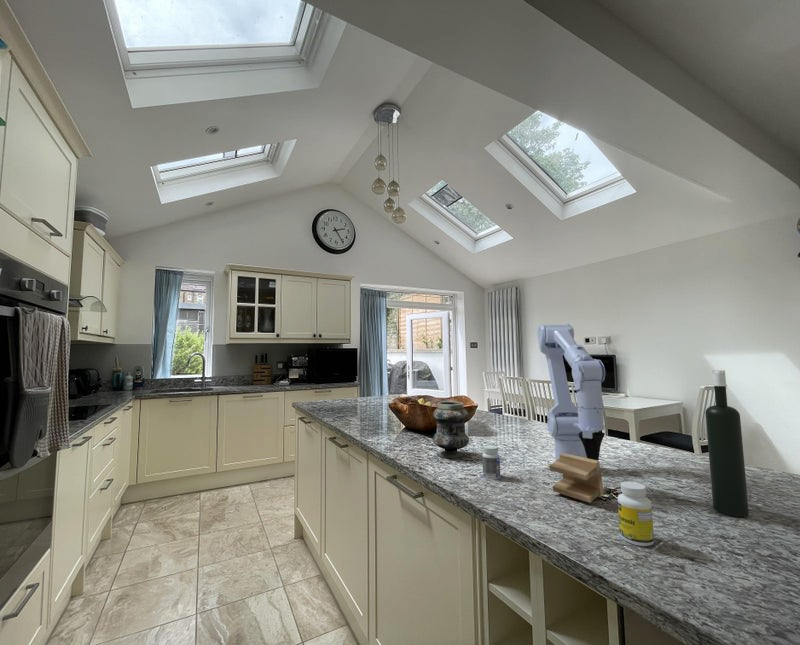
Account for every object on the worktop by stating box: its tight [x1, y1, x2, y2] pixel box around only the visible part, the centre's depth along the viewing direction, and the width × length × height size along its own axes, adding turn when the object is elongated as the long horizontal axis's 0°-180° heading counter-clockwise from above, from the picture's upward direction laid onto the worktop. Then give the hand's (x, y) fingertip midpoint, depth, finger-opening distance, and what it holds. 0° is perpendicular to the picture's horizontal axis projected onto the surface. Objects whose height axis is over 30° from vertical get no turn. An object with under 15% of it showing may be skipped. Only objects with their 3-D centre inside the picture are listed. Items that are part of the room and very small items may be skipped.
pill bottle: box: [481, 444, 501, 481], centre depth 104 cm, size 5×5×8 cm
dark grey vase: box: [432, 400, 470, 461], centre depth 125 cm, size 12×12×18 cm
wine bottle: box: [704, 369, 750, 517], centre depth 81 cm, size 6×6×30 cm
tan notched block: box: [548, 453, 605, 504], centre depth 88 cm, size 8×9×6 cm
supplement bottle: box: [617, 481, 655, 547], centre depth 69 cm, size 5×5×10 cm
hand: (593, 462), depth 94 cm, fingers closed
